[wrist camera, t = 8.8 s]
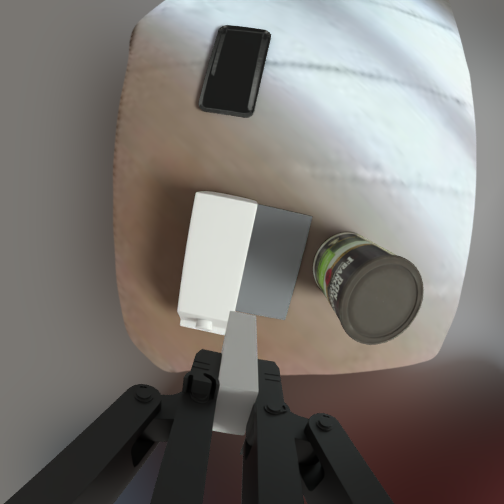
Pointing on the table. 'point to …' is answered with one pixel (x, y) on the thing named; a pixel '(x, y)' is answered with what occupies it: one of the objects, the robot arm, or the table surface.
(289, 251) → the mat
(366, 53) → the table surface
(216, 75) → the phone
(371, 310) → the coffee can
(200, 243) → the milk carton
